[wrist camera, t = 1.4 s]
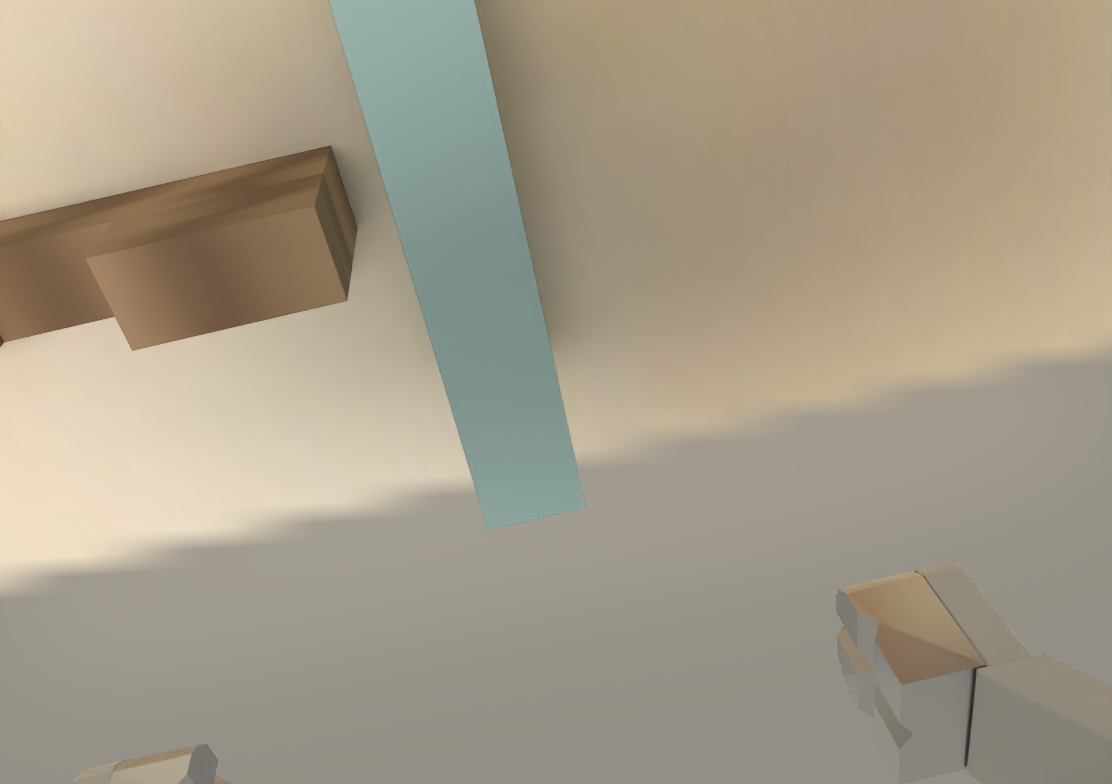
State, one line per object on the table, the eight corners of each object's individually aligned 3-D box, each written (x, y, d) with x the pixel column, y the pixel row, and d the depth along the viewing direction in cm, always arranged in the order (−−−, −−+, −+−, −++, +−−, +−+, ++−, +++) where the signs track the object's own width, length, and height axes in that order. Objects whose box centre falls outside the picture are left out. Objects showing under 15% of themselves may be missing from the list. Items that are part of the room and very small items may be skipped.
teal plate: (441, -107, 27) (455, -86, 19) (544, 349, 36) (585, 507, 27) (343, -85, 27) (312, -54, 19) (469, 367, 35) (487, 530, 27)
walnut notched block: (330, 145, 30) (314, 206, 25) (357, 228, 32) (346, 300, 27) (-200, 267, 30) (-325, 353, 25) (-146, 344, 32) (-253, 440, 27)
